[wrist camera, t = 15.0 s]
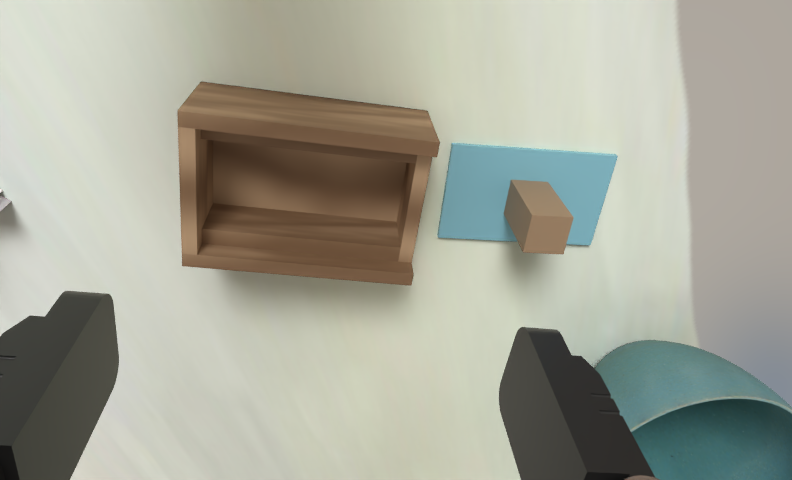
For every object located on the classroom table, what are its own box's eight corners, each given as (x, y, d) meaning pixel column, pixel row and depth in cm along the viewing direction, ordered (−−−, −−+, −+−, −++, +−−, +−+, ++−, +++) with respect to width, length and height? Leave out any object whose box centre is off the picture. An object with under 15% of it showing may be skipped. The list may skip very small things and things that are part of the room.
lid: (451, 141, 44) (466, 177, 39) (613, 152, 46) (652, 189, 40) (436, 232, 48) (449, 278, 42) (586, 240, 50) (619, 285, 44)
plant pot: (650, 454, 64) (710, 563, 53) (508, 412, 59) (543, 524, 48) (764, 332, 56) (862, 432, 46) (611, 272, 51) (681, 369, 41)
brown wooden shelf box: (200, 81, 40) (177, 110, 35) (427, 110, 43) (439, 142, 37) (202, 221, 46) (182, 265, 40) (403, 240, 48) (411, 285, 42)
